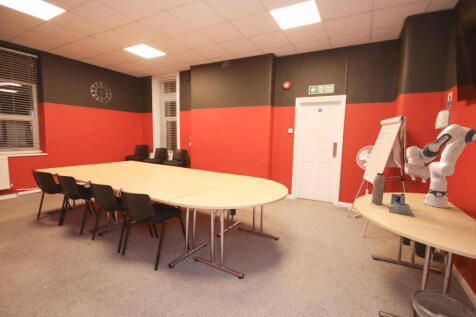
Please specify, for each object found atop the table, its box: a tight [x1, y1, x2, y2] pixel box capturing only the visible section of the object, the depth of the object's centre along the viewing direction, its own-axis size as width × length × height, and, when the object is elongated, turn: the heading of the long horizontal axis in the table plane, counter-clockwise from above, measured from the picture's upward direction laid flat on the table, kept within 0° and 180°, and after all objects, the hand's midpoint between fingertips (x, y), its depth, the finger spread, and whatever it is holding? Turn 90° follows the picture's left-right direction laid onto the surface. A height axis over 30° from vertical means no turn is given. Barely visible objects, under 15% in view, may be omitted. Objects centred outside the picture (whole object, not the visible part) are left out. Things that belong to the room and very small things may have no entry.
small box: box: [390, 193, 406, 207], centre depth 190 cm, size 11×6×10 cm, turn 168°
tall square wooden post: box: [400, 193, 406, 205], centre depth 175 cm, size 4×4×13 cm
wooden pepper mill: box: [371, 172, 386, 206], centre depth 194 cm, size 8×8×28 cm
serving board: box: [387, 205, 416, 218], centre depth 176 cm, size 20×16×2 cm
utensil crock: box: [392, 202, 411, 214], centre depth 175 cm, size 10×10×6 cm
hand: (419, 181), depth 173 cm, fingers open, 8 cm apart
